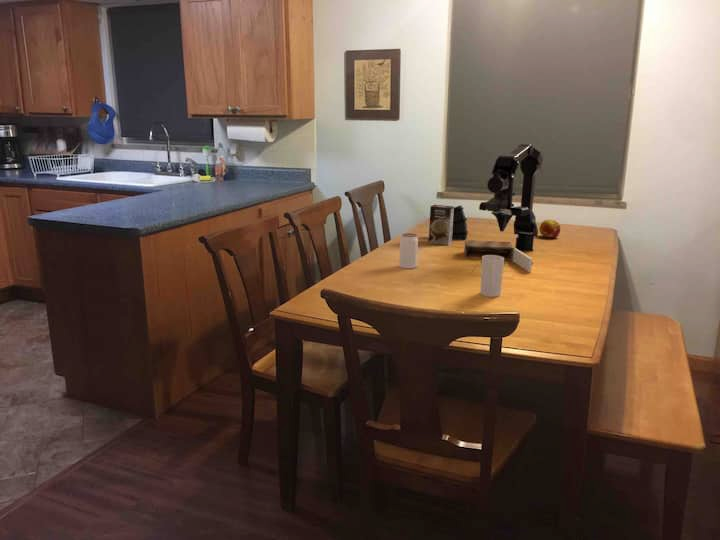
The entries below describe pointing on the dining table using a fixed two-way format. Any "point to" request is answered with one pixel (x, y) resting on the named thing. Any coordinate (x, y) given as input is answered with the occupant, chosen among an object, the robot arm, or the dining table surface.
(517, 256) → the door
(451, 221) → the coffee box
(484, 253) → the walnut box
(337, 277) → the dining table surface
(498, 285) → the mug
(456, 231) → the black piece
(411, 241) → the can
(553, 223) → the fruit
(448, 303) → the dining table surface
